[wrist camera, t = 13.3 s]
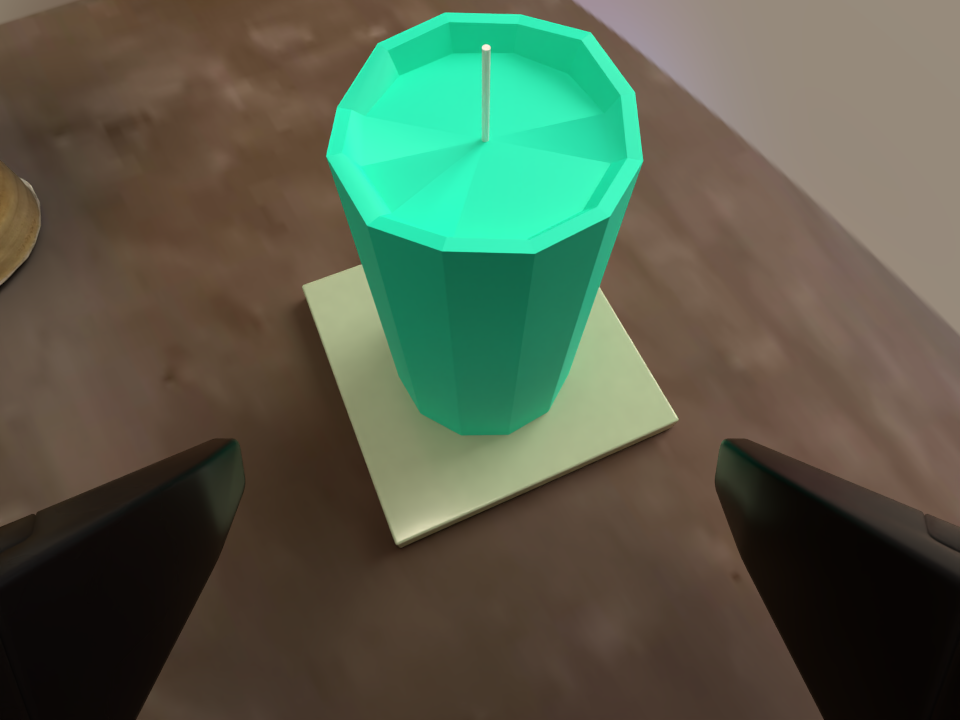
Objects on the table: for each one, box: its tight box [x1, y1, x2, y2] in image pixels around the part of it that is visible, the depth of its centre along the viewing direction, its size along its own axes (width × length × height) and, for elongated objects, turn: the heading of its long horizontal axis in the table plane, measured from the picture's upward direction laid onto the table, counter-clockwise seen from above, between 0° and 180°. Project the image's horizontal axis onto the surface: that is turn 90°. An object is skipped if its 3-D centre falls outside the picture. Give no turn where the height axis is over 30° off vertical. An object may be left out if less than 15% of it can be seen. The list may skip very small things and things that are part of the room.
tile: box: [302, 264, 678, 548], centre depth 21 cm, size 10×10×1 cm
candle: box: [326, 13, 643, 435], centre depth 15 cm, size 6×6×12 cm
